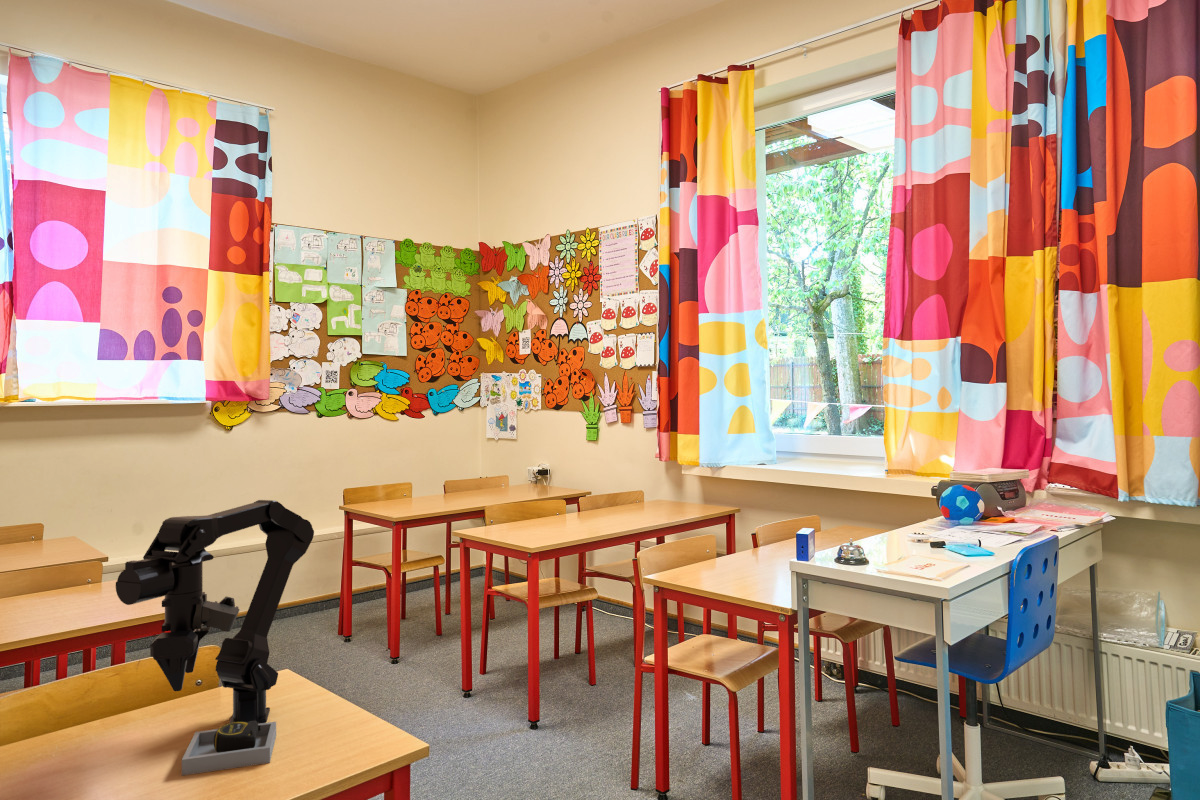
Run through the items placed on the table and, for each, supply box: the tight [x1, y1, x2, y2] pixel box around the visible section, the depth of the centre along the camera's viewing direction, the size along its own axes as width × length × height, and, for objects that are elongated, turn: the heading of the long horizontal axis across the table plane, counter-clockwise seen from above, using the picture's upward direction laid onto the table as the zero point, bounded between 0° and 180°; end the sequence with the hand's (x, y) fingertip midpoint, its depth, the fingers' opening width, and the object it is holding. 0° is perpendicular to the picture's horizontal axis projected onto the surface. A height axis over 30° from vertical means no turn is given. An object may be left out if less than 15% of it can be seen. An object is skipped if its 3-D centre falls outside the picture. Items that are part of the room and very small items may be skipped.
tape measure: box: [214, 721, 261, 753], centre depth 127 cm, size 7×7×4 cm
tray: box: [181, 721, 277, 776], centre depth 127 cm, size 11×13×2 cm
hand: (183, 681), depth 128 cm, fingers open, 9 cm apart
